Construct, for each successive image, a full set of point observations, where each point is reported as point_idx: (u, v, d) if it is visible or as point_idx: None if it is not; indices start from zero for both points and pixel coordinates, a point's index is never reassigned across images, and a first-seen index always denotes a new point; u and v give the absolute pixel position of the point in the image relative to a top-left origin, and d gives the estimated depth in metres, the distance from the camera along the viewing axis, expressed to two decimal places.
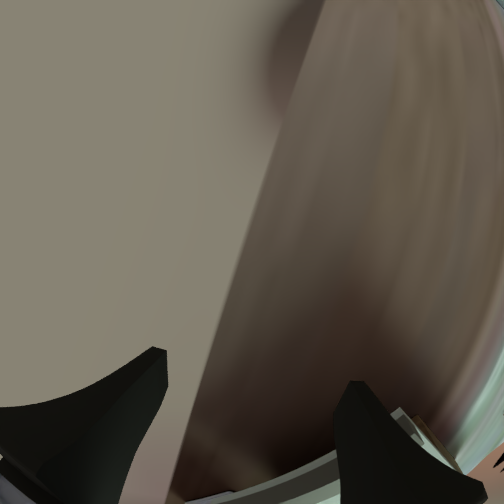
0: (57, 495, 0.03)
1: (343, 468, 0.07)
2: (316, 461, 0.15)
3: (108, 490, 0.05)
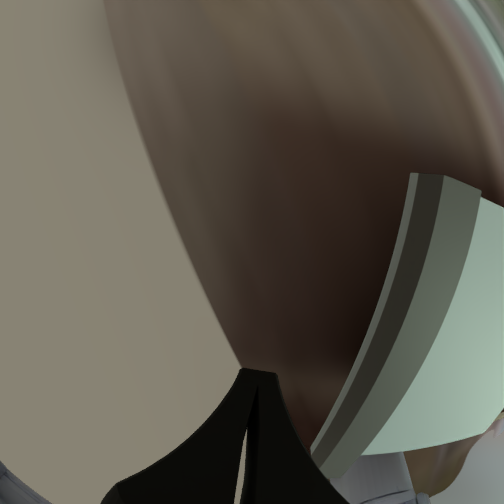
0: None
1: (246, 463, 0.07)
2: (373, 320, 0.12)
3: None
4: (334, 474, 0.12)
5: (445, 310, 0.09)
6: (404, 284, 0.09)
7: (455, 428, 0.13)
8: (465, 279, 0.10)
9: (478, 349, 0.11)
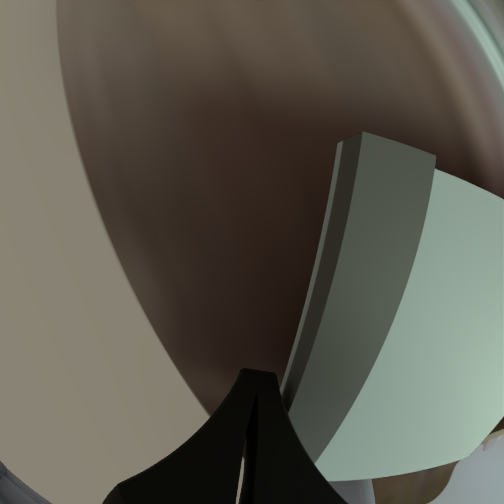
0: None
1: (245, 463, 0.07)
2: (296, 337, 0.10)
3: None
4: None
5: (382, 335, 0.07)
6: (318, 296, 0.07)
7: (428, 457, 0.11)
8: (428, 288, 0.08)
9: (452, 375, 0.09)
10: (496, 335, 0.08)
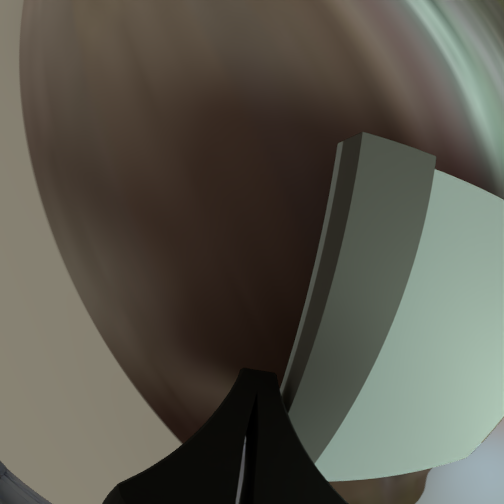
0: None
1: (245, 462, 0.07)
2: (296, 337, 0.10)
3: None
4: None
5: (382, 335, 0.07)
6: (318, 295, 0.07)
7: (428, 457, 0.11)
8: (428, 288, 0.08)
9: (452, 375, 0.09)
10: (495, 335, 0.08)
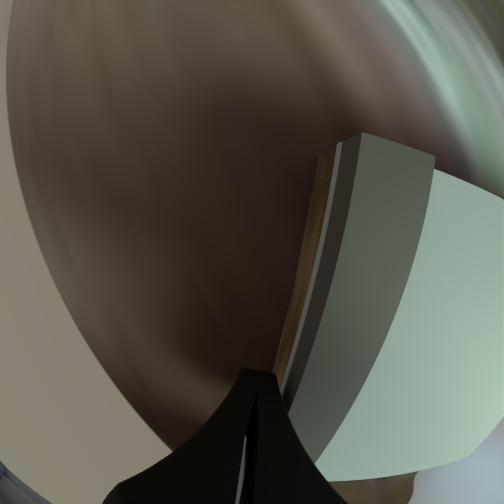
0: None
1: (245, 463, 0.07)
2: (296, 337, 0.10)
3: None
4: None
5: (382, 335, 0.07)
6: (318, 295, 0.07)
7: (428, 456, 0.11)
8: (428, 288, 0.08)
9: (452, 375, 0.09)
10: (496, 334, 0.08)
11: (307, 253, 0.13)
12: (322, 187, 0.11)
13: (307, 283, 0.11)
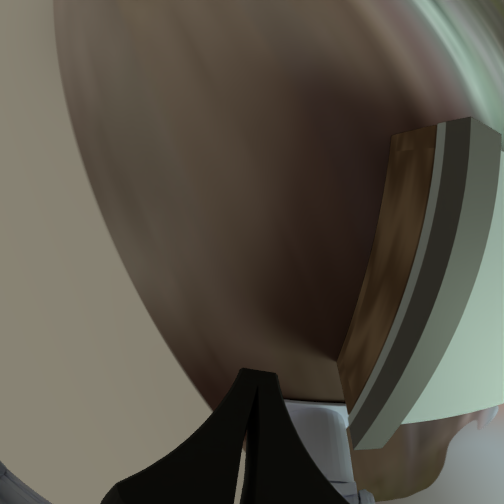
0: None
1: (246, 463, 0.07)
2: (415, 264, 0.11)
3: None
4: (376, 443, 0.12)
5: (484, 243, 0.08)
6: (445, 219, 0.09)
7: (485, 393, 0.13)
8: (492, 225, 0.10)
9: None
10: None
11: (397, 208, 0.14)
12: (409, 156, 0.13)
13: (407, 227, 0.13)
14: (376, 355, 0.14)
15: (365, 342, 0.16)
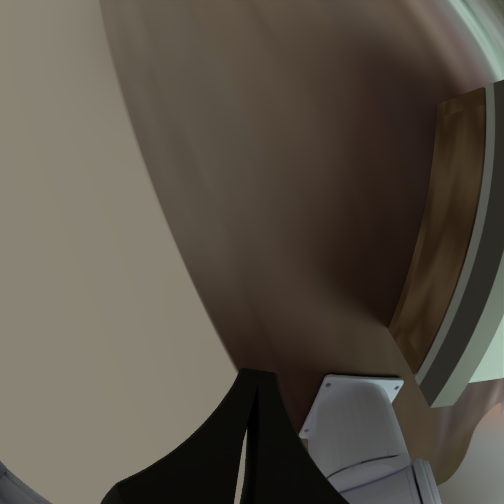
0: None
1: (246, 463, 0.07)
2: (481, 202, 0.10)
3: None
4: (451, 397, 0.11)
5: None
6: None
7: None
8: None
9: None
10: None
11: (451, 162, 0.13)
12: (460, 116, 0.12)
13: (466, 174, 0.12)
14: (447, 300, 0.12)
15: (429, 294, 0.15)
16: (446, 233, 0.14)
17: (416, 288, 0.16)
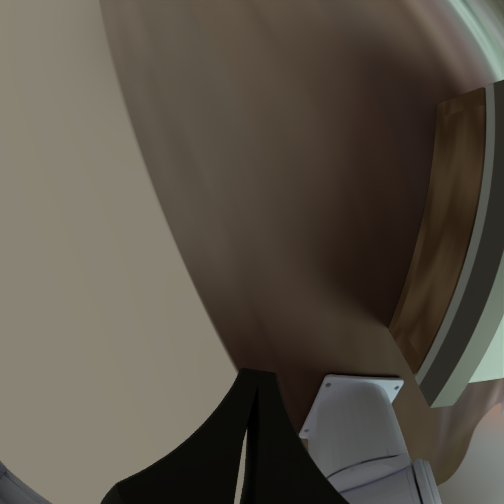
0: None
1: (246, 463, 0.07)
2: (481, 202, 0.10)
3: None
4: (451, 397, 0.11)
5: None
6: None
7: None
8: None
9: None
10: None
11: (451, 162, 0.13)
12: (460, 116, 0.12)
13: (466, 174, 0.12)
14: (447, 300, 0.12)
15: (429, 294, 0.15)
16: (446, 233, 0.14)
17: (416, 288, 0.16)
